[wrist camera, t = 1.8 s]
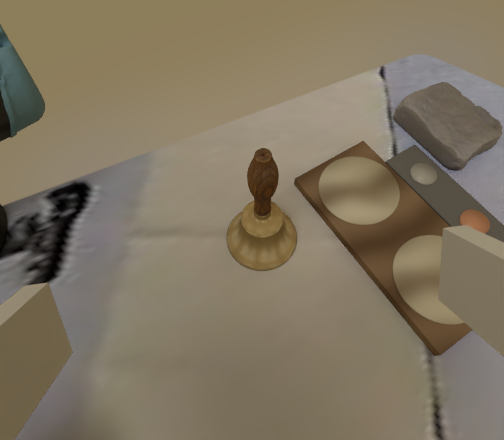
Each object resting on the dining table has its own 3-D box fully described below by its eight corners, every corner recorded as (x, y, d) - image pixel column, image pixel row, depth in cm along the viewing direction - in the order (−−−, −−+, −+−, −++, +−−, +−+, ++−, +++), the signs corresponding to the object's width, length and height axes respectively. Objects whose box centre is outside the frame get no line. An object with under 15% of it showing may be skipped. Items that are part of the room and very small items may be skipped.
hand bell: (308, 223, 39) (334, 132, 25) (277, 283, 36) (287, 219, 21) (247, 196, 41) (239, 97, 27) (213, 251, 38) (183, 172, 23)
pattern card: (383, 165, 42) (386, 160, 41) (412, 148, 43) (415, 143, 42) (482, 263, 36) (488, 260, 35) (513, 241, 37) (519, 237, 36)
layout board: (294, 184, 41) (295, 177, 40) (360, 146, 44) (363, 139, 42) (434, 355, 32) (441, 354, 31) (510, 296, 34) (519, 292, 33)
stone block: (428, 101, 50) (384, 118, 46) (449, 73, 46) (403, 90, 42) (489, 155, 45) (446, 179, 42) (518, 130, 41) (474, 154, 37)
